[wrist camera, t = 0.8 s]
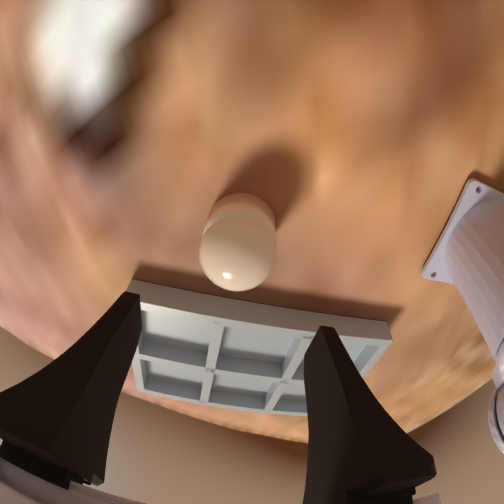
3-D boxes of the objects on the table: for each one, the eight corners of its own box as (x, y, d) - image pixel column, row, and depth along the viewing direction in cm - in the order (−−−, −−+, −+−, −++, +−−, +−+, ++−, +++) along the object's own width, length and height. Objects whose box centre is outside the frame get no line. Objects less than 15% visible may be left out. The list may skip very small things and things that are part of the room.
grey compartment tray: (386, 321, 23) (392, 340, 22) (326, 401, 31) (327, 416, 30) (131, 279, 22) (122, 297, 20) (141, 375, 30) (137, 390, 28)
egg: (282, 200, 18) (287, 251, 14) (266, 255, 20) (266, 313, 16) (213, 186, 18) (196, 234, 13) (204, 244, 20) (189, 299, 16)
